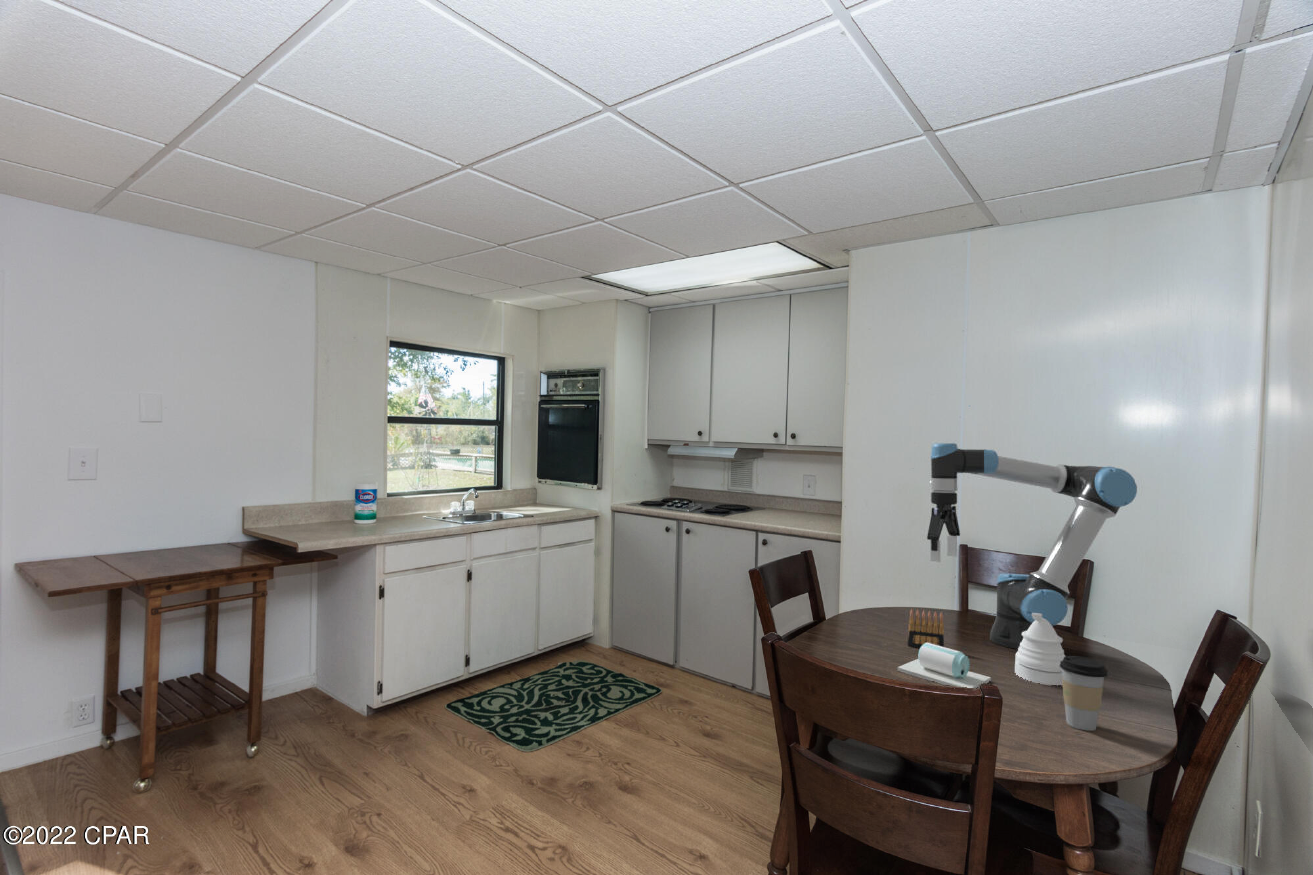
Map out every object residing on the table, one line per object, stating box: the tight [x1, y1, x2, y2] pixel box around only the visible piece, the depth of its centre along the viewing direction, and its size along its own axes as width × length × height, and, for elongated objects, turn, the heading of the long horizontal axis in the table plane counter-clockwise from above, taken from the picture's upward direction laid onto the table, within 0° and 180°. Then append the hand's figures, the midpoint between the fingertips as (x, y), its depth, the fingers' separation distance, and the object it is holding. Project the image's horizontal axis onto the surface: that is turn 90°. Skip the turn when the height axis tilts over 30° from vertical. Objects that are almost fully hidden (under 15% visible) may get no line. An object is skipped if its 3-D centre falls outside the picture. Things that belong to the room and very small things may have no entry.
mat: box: [897, 658, 992, 690], centre depth 180 cm, size 20×14×1 cm
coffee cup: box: [1059, 655, 1109, 732], centre depth 150 cm, size 9×9×15 cm
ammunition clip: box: [906, 608, 945, 649], centre depth 205 cm, size 11×2×12 cm, turn 73°
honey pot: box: [1014, 613, 1066, 687], centre depth 182 cm, size 13×13×18 cm
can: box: [917, 643, 971, 678], centre depth 180 cm, size 7×7×12 cm
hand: (943, 558), depth 203 cm, fingers open, 13 cm apart
